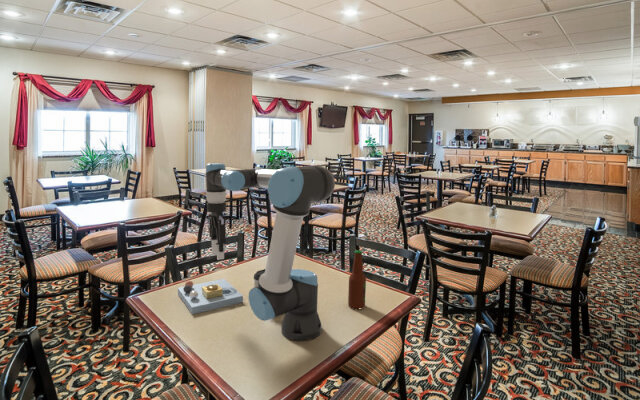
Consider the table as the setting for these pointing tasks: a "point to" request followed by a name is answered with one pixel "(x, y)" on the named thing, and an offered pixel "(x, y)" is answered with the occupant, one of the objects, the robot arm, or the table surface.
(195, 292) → the steel ball
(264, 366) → the table surface
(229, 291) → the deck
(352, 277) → the bottle
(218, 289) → the yellow square block
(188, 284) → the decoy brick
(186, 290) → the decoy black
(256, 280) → the coffee cup
